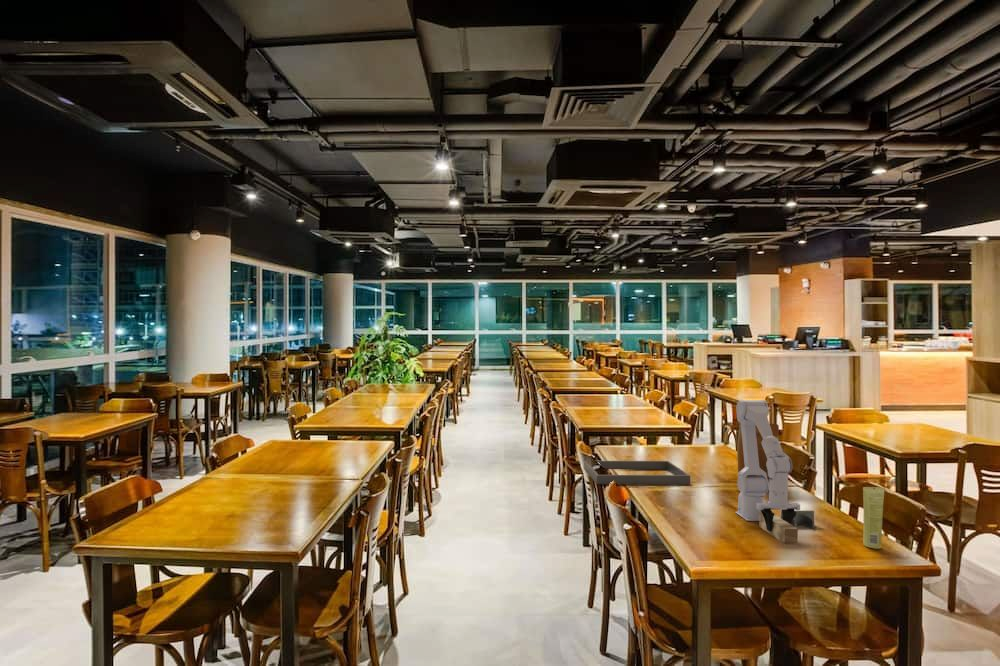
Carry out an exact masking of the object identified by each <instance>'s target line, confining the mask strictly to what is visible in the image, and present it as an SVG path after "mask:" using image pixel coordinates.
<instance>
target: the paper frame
mask: <svg viewBox="0 0 1000 666" xmlns="http://www.w3.org/2000/svg"><path fill="white" fill-rule="evenodd" d="M587 461H588V460H583V470H584V471H585V472H586V474H588V475H589V477H590V478H591V479H592V480H593V481H594V483H595V484H596V485H610V484H609V483H610V482H612V481H613V480H614V481H616V482H617V483H619V484H618V485H691V475H690V474H688V473H687V472H686V471H684V470H683V469H681V468H680V467H678V466H677V465H675V464H674V463H672V462H670V461H668V460H596V461H597V462H599V463H600V464H601V466H602V467H603V468H605V469H604V470H667V471H668V470H669V471H668V472H670V473H671V474H598V472H597V471H596V469H593V468H592V467H591V466H590V465H589V464H588V463H587Z"/></svg>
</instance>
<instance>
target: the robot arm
mask: <svg viewBox="0 0 1000 666" xmlns="http://www.w3.org/2000/svg"><path fill="white" fill-rule="evenodd" d="M735 408H736V409H735V411H736V412H735V413H736V418H737V422H738V423H740V427H741V433H742V443H743V453H744V464H745V467H744V468H743V469H742V470H741V471H740V472H739V473H738V472H737V481H736V485H737V489H738V491H739V492H740V493H739V494H738V498H737V511H735V514H737V515H739V517H741V518H742V519H744V520H745V521H747V522H759V513H762V515H763V517H764V520H765V523H766V527H767V530H768V531H772V523H773V517H774V514H775V512H773V511H774V510H775V511H776V510H777V511H778V510H779V511H780V510H781V511H782V514H783V520H784V521H786V522H788V523H789V524H791V522H792V520H793V518H794V517H795V516H796V511H801V504H799V503H797V502H788V499H789V498H788V495H789V488H788V487H789V474H790V473H791V472H792V470H793V462H792V460H791V458H790V456H789V455H788V454H787V453H785V452H784V451H783V448H782V444H781V442H780V440H779V439H778V437H777V438H776V437H774V436H773V434H772V431H771V427H770V424H771V423H770V421H769V418H768V416H769V412H770V408H769V404H768V402H767V401H766V400H765V399H739V400H738V401H737V403H736V406H735ZM755 425H756V426H757V428H758V430H759V432H760V434H761V436H762V438H763V440H762V442H761V444H762V447H763V449H764V452H765V454H766V457H767V462H766V466H767V470H768V476H769V477H770V482H769V481H768V479H767V475H766V472H764V471H763V470H762V469H760V467H759V458H758V448H757V439H756V429H755ZM747 475H757V476H747ZM767 493H768V501H765V502H764V497H765V496H766V494H767Z"/></svg>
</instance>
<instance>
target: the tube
mask: <svg viewBox="0 0 1000 666" xmlns="http://www.w3.org/2000/svg"><path fill="white" fill-rule="evenodd" d="M862 495H863V496H862V498H863V501H862V502H863V534H862V535H863V536H862V541H863V542H862V545H863V546H864V547H866V548H870V549H876V550H879V549H881V548H882V537H883V536H882V535H883V534H882V533H883V515H884V514H883V513H884V500H885V486H883V487H880V486H879V487H876V486H874V487H873V486H863V487H862Z"/></svg>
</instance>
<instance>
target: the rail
mask: <svg viewBox="0 0 1000 666" xmlns="http://www.w3.org/2000/svg"><path fill="white" fill-rule="evenodd" d="M758 527H759V528H761V529H762V530H764V531H765V532H767V533H769V535H771V536H772V537H774V538H775V539H777V540H778V541H779V542H781V543H783V544H790V545H791V544H793V545H794V544H798V540H799V539H798V534H799V533H798V531H799V528H798V527H797V526H796V527H794V526H793V525H791V524H789V523H788V522H786V521H784V520H783V519H781V516H778V515H776V514H775V513H774V517H773V523H772V531H768V530H767V527H766V523H765V520H764V517H763V515H762V513H759V521H758Z"/></svg>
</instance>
